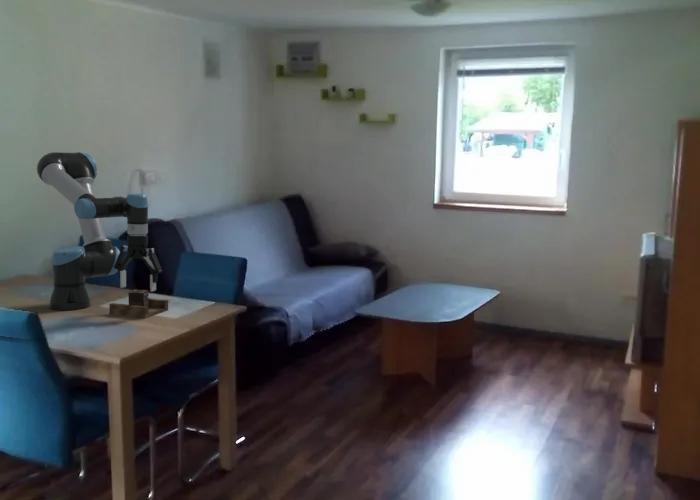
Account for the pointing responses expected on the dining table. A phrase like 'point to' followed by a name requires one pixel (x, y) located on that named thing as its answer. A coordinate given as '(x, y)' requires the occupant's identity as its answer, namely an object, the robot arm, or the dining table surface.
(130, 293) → the box
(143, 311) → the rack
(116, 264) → the robot arm
